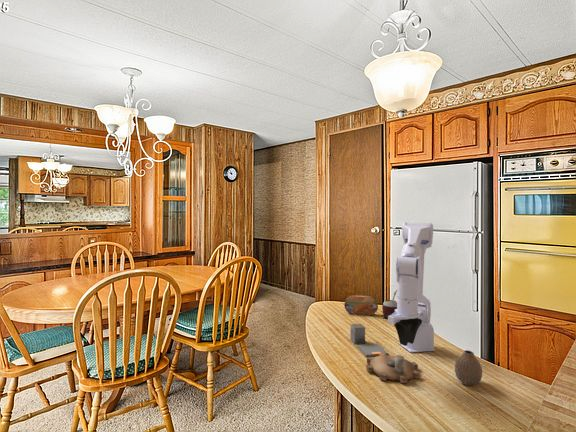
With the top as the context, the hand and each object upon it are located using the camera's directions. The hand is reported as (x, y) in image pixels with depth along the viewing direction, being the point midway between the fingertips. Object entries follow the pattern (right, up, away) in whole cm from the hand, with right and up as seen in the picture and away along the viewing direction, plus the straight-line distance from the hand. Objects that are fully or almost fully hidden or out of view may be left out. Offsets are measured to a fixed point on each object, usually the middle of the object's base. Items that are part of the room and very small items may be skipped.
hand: (406, 343), depth 99 cm
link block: (-9, -9, +24) cm, 27 cm away
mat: (-6, -9, +17) cm, 20 cm away
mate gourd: (+10, -8, +48) cm, 50 cm away
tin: (-1, -8, +56) cm, 57 cm away
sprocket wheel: (-3, -9, +3) cm, 10 cm away
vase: (+16, -10, -3) cm, 19 cm away
